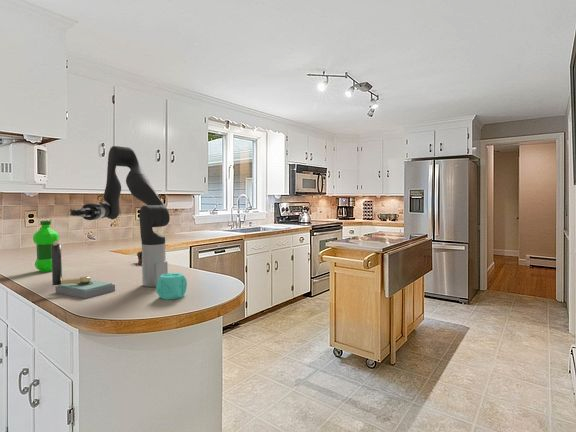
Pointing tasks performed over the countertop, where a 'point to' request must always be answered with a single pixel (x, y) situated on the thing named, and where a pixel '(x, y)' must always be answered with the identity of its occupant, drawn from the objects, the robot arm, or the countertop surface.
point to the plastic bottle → (44, 246)
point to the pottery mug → (139, 257)
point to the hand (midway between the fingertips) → (74, 213)
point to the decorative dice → (171, 286)
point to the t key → (58, 268)
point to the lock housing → (85, 289)
